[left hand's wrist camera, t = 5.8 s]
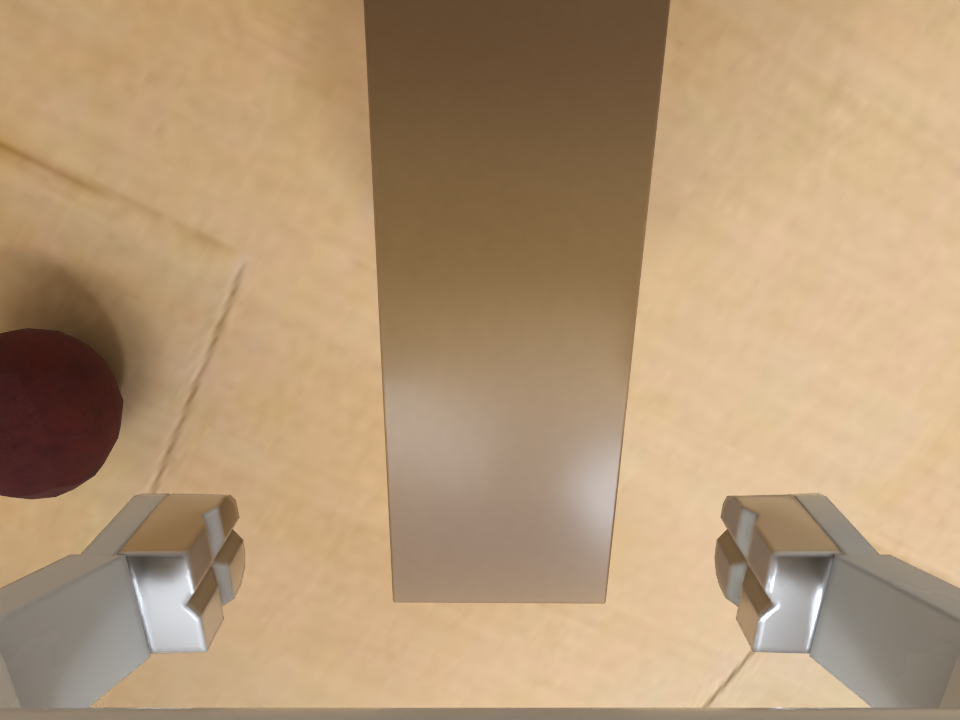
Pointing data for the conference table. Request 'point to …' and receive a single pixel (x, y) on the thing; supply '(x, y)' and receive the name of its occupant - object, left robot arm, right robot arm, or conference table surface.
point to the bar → (508, 283)
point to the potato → (53, 413)
